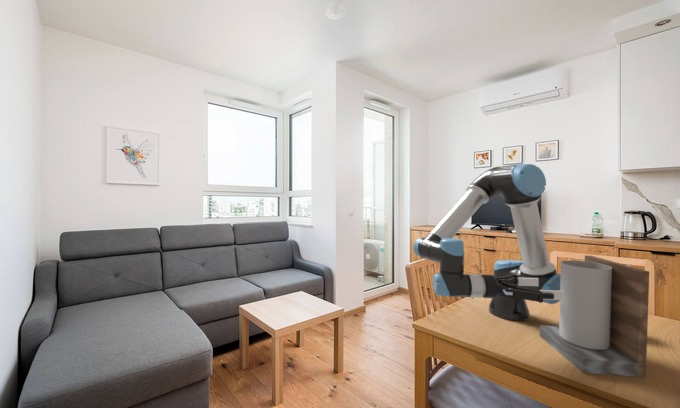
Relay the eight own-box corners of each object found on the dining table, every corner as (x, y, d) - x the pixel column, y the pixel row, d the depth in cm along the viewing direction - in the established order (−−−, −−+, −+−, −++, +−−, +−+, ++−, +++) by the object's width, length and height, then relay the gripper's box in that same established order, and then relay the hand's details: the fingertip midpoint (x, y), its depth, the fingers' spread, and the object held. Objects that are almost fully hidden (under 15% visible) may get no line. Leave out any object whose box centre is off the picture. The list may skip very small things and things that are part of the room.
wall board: (582, 372, 83) (585, 269, 83) (539, 336, 105) (541, 254, 104) (645, 377, 81) (649, 271, 81) (588, 338, 103) (591, 255, 102)
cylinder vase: (621, 350, 88) (623, 269, 87) (582, 352, 87) (584, 269, 86) (583, 331, 100) (585, 260, 100) (549, 332, 99) (551, 260, 99)
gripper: (469, 285, 109) (529, 287, 107) (497, 312, 85) (576, 315, 82) (469, 265, 109) (529, 267, 107) (497, 286, 84) (576, 289, 82)
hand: (549, 288), depth 94 cm, fingers open, 13 cm apart
